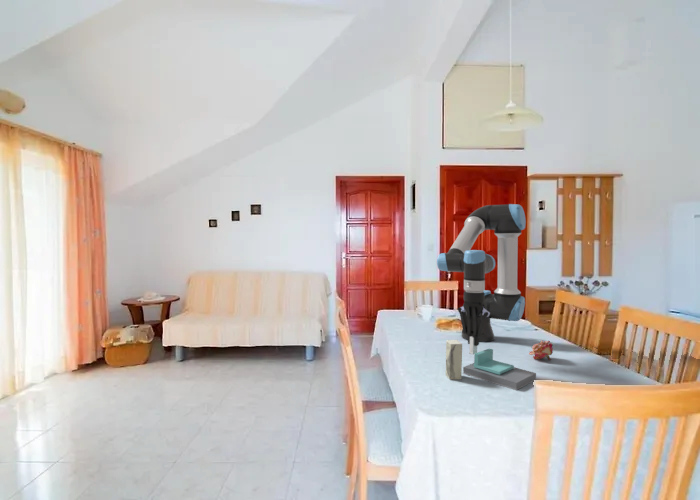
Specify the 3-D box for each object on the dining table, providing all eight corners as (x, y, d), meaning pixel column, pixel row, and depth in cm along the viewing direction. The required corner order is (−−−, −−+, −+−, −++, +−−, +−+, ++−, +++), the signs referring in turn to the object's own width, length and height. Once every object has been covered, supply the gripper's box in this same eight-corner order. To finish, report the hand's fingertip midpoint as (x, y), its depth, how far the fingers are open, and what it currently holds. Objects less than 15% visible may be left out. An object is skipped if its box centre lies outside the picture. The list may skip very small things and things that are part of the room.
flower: (557, 354, 160) (545, 336, 163) (562, 355, 152) (548, 337, 154) (536, 365, 162) (524, 348, 164) (539, 368, 153) (527, 350, 156)
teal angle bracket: (473, 367, 141) (473, 353, 141) (488, 361, 148) (488, 348, 148) (499, 374, 134) (499, 360, 134) (513, 368, 140) (514, 354, 140)
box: (445, 374, 141) (445, 339, 141) (456, 374, 141) (457, 339, 141) (450, 380, 136) (450, 343, 135) (462, 379, 136) (462, 343, 136)
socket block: (463, 373, 143) (463, 367, 142) (484, 365, 152) (484, 359, 151) (516, 390, 127) (516, 382, 127) (535, 379, 136) (536, 373, 136)
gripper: (453, 290, 149) (452, 351, 150) (484, 294, 139) (483, 359, 140) (464, 288, 153) (464, 347, 154) (495, 292, 143) (494, 355, 144)
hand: (473, 353), depth 147 cm, fingers closed
